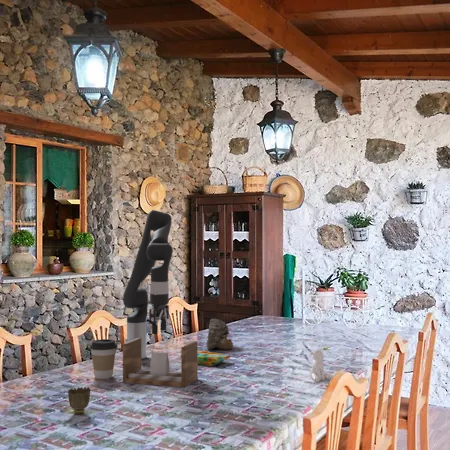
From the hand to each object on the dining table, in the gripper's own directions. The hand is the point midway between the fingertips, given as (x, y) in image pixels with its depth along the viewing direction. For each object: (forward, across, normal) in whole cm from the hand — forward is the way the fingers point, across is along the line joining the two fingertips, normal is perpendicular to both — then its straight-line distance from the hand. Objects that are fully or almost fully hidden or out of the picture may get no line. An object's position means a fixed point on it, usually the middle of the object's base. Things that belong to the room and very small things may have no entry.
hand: (159, 332), depth 248 cm
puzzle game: (+20, -38, +6) cm, 44 cm away
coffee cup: (+20, +1, -25) cm, 32 cm away
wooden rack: (+20, -1, 0) cm, 20 cm away
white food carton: (+18, 0, 0) cm, 19 cm away
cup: (+20, +48, -8) cm, 53 cm away
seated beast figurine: (+20, -23, +61) cm, 68 cm away
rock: (+20, -71, +2) cm, 74 cm away
